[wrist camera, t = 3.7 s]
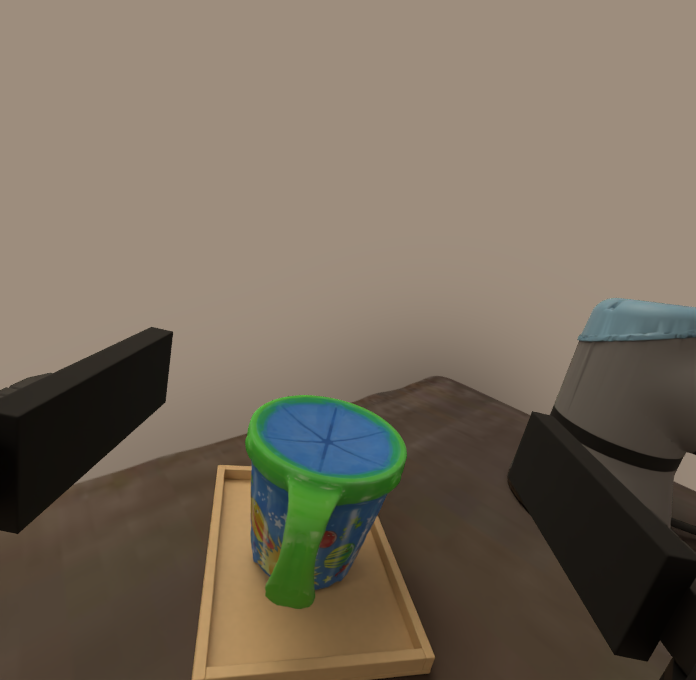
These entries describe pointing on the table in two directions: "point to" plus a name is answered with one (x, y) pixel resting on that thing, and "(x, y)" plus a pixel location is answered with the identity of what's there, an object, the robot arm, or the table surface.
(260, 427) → the snack cup
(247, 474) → the tray
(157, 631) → the table surface
